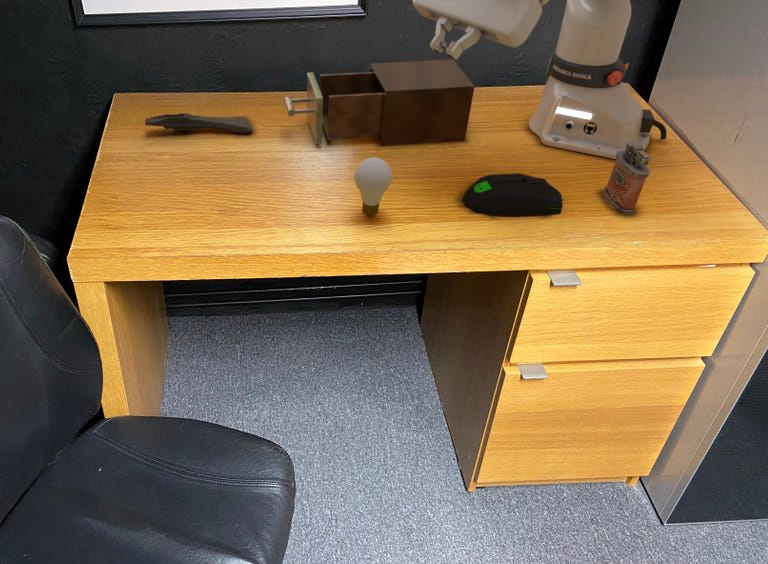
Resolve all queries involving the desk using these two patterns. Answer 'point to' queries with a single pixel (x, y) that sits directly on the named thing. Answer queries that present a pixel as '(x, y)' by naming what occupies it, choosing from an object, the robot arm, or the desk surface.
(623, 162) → the lighter
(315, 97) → the drawer
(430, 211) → the desk surface
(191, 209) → the desk surface
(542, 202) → the computer mouse
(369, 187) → the light bulb
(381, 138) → the cabinet
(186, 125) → the tool
